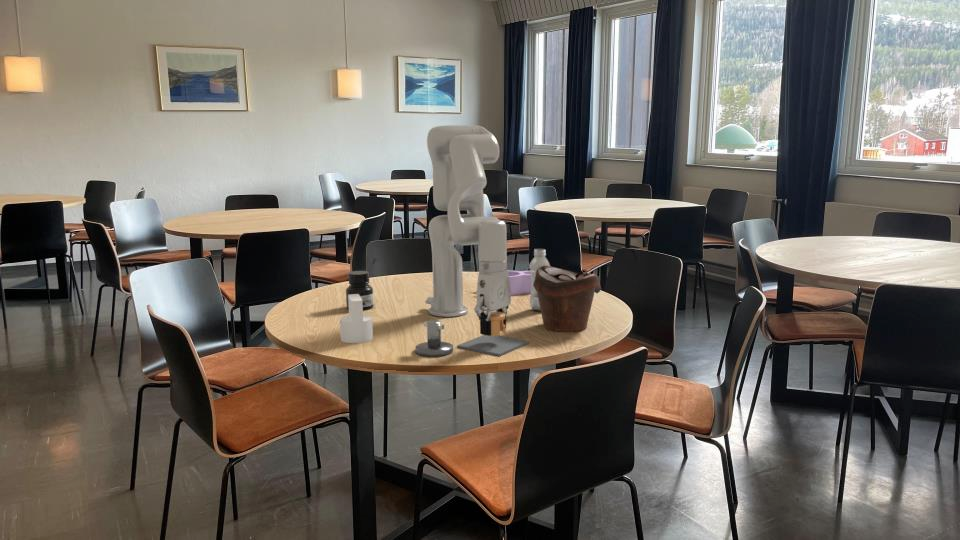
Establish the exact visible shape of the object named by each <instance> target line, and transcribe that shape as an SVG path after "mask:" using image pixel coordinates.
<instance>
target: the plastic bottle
mask: <svg viewBox="0 0 960 540" xmlns="http://www.w3.org/2000/svg"><path fill="white" fill-rule="evenodd" d="M546 251H547V250H546V249H545V248H534V250H533V256H534V257H533V258H532V259H531V261H530V263H529V271H530V274H531V282H532V283H531V285H532V286H531V293H530V297H529V305H530V306H529V307H530V308H531V310H534V311H539V312H541V309H540V304H539V299H538V295H537V291H536V290H535V288H534V286H533V283H534V280H535V276H536V271H537V269H538V268H539V267H540V266H543V265H546V266H551V264H550V262H549V260H548V259H547V257H546V256H547V253H546Z"/></svg>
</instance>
